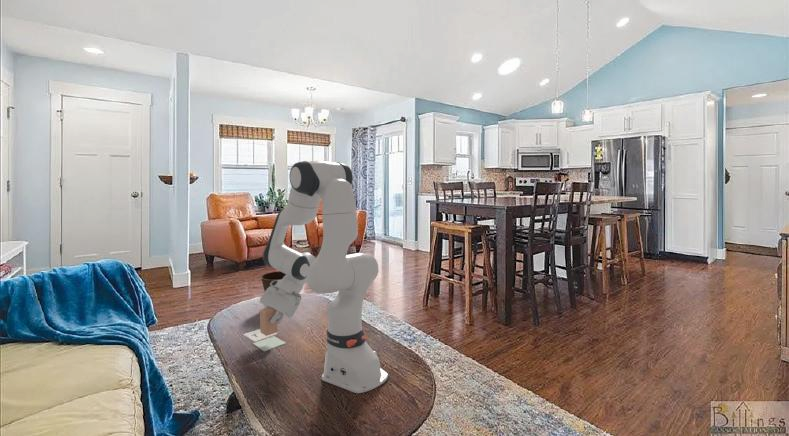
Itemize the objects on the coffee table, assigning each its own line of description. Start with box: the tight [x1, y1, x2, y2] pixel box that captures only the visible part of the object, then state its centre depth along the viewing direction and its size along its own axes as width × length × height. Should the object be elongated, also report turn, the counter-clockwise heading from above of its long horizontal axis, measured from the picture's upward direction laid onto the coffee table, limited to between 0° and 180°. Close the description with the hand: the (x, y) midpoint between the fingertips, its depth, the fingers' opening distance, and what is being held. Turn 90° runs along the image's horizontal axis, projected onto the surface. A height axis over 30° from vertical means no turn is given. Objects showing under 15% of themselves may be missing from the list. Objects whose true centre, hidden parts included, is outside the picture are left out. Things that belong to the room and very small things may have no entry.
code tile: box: [242, 328, 278, 343], centre depth 157 cm, size 10×10×1 cm
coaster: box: [252, 335, 287, 352], centre depth 148 cm, size 9×9×1 cm
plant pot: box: [261, 271, 286, 292], centre depth 188 cm, size 15×15×16 cm
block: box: [259, 307, 278, 336], centre depth 147 cm, size 4×4×9 cm
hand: (266, 320), depth 147 cm, fingers closed on block, 4 cm apart
